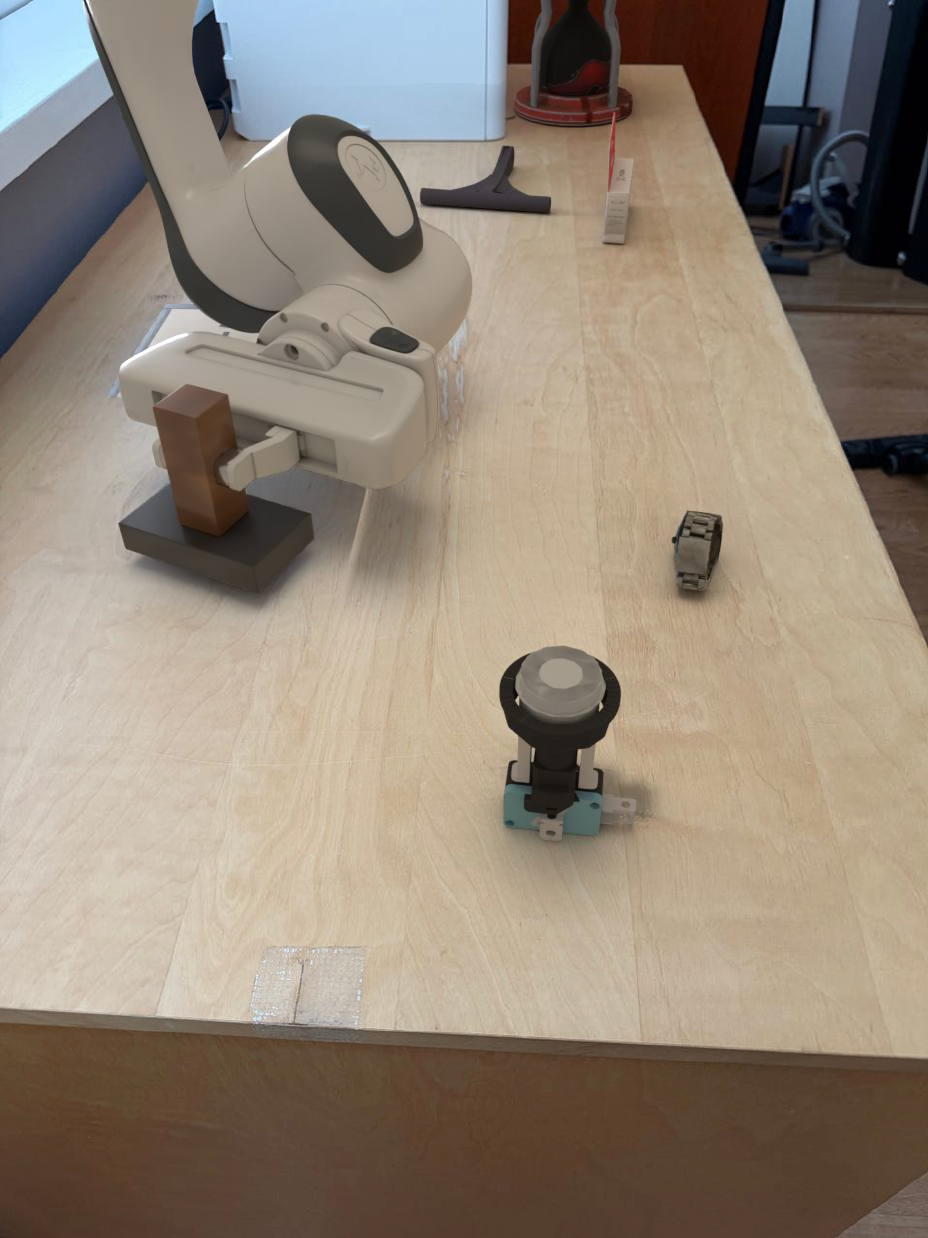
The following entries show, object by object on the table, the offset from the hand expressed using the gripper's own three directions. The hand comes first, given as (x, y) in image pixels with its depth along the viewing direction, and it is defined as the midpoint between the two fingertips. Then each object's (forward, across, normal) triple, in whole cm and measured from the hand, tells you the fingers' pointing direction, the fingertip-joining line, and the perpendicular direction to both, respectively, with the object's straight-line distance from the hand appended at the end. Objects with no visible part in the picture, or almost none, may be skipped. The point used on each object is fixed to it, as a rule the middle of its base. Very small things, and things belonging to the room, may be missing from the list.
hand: (193, 468), depth 60 cm
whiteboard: (-24, -15, +9) cm, 30 cm away
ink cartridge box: (-68, +1, +9) cm, 68 cm away
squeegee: (-73, -15, +9) cm, 75 cm away
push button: (+7, +27, +9) cm, 29 cm away
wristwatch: (-14, +26, +9) cm, 31 cm away
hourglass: (-105, -19, +9) cm, 107 cm away
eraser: (-1, 0, +6) cm, 6 cm away
